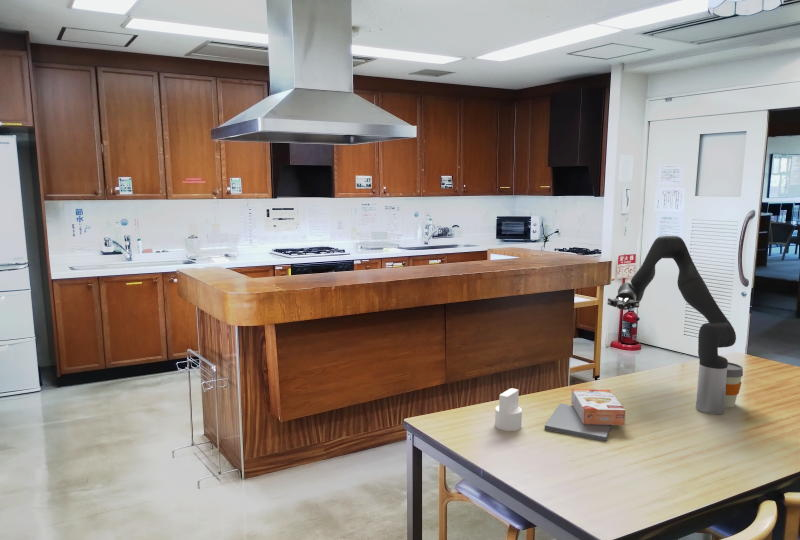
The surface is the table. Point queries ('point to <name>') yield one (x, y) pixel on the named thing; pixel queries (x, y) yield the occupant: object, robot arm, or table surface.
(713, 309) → the robot arm
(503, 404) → the cylinder with rectangular tab
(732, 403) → the reusable coffee cup
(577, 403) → the cracker box
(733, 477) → the table surface
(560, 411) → the board
